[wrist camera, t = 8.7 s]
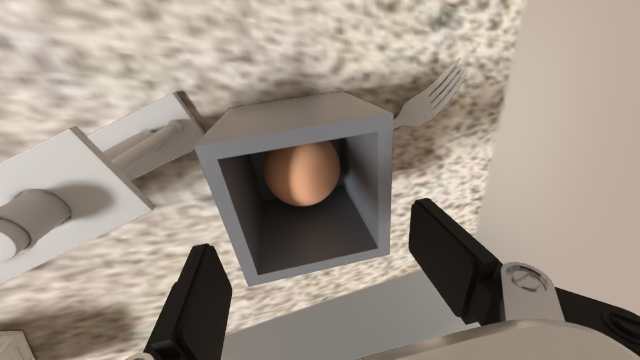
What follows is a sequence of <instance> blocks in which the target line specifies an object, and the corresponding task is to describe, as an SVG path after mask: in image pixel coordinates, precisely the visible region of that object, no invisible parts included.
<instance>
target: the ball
mask: <svg viewBox="0 0 640 360" xmlns="http://www.w3.org/2000/svg"><path fill="white" fill-rule="evenodd" d="M263 172H264V177H265V180H266V183H267V185H268V187H269V189H270V190H271V191H272V193H273V194H274V195H275V196H276V197H277V198H279V199H280V200H282V201H283V202H285V203H288V204H290V205H294V206H309V205H313V204H316V203H318V202H320V201H322V200H323V199H325V198H326V197H327V196H328V195H329V194H330V193H331V192H332V191H333V189H334V188H335V186H336V184H337V181H338V179H339V174H340V162H339V158H338V155H337V152H336V150H335V148H334V147H333V145H332V144H331V143H330V142H329V141H328V140H327V141H321V142H315V143H310V144H304V145H298V146H292V147H286V148H281V149H275V150H269V151H267V153H266V155H265V158H264V164H263Z"/></svg>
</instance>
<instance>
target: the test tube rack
mask: <svg viewBox="0 0 640 360" xmlns="http://www.w3.org/2000/svg"><path fill="white" fill-rule="evenodd" d="M204 135H205V132H204V131H203V129H202V128H201V127H200V125H199V124H198V122H197V121H196V120H195V118H194V117H193V115H192V114H191V112H190V111H189V110H188V108H187V107H186V105H185V104H184V103H183V101H182V100H181V98H180V97H179V95H178V94H177V93H176V92H174V93H171V94H169V95H167V96H165V97H163V98H161V99H159V100H157V101H155V102H153V103H151V104H149V105H147V106H145V107H143V108H141V109H139V110H137V111H135V112H133V113H131V114H129V115H127V116H125V117H123V118H121V119H119V120H117V121H115V122H113V123H111V124H109V125H107V126H105V127H103V128H101V129H99V130H97V131H95V132H93V133H91V134H89V135H87V136H86V135H85V134H84V133H83V132H82V131H81V130H80V129H79V128H78V127H77V126H75V127H72V128H69V129H67V130H65V131H63V132H61V133H59V134H57V135H55V136H53V137H51V138H49V139H47V140H45V141H43V142H41V143H39V144H37V145H35V146H33V147H31V148H29V149H27V150H25V151H23V152H21V153H19V154H17V155H15V156H13V157H11V158H9V159H7V160H5V161H3V162H1V163H0V284H1V283H3V282H5V281H7V280H9V279H11V278H13V277H15V276H18V275H20V274H22V273H24V272H26V271H28V270H30V269H32V268H34V267H36V266H38V265H40V264H42V263H45V262H47V261H49V260H51V259H53V258H55V257H57V256H59V255H61V254H63V253H65V252H67V251H70V250H72V249H74V248H76V247H78V246H80V245H82V244H84V243H86V242H88V241H90V240H92V239H95V238H97V237H99V236H101V235H103V234H105V233H107V232H109V231H111V230H113V229H115V228H117V227H119V226H122V225H124V224H126V223H128V222H130V221H132V220H134V219H136V218H138V217H140V216H142V215H144V214H146V213H148V212H150V211H152V210H153V209H154V208H155V205H154V204H153V203H152V202H151V201H150V200H149V199H148V198H147V197H146V196H145V195H144V194H143V193H142V192H141V191H140V190H139V189H138V188H137V187H136V186H135V185H134V184H133V183H132V182H131V181H132V180H134V179H136V178H138V177H140V176H142V175H144V174H146V173H148V172H150V171H152V170H154V169H156V168H158V167H160V166H162V165H164V164H166V163H169V162H171V161H173V160H175V159H177V158H179V157H181V156H183V155H185V154H187V153H189V152H191V151H193V150H195V149H194V145H195V144H196V143H197V142H198V141H199V140H200V139H201V138H202V137H203V136H204ZM70 216H71V218H70V219H69V220H67V221H66V222H63V221H64V220H66V219H67V218H68V217H70ZM62 222H63V223H62Z"/></svg>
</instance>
